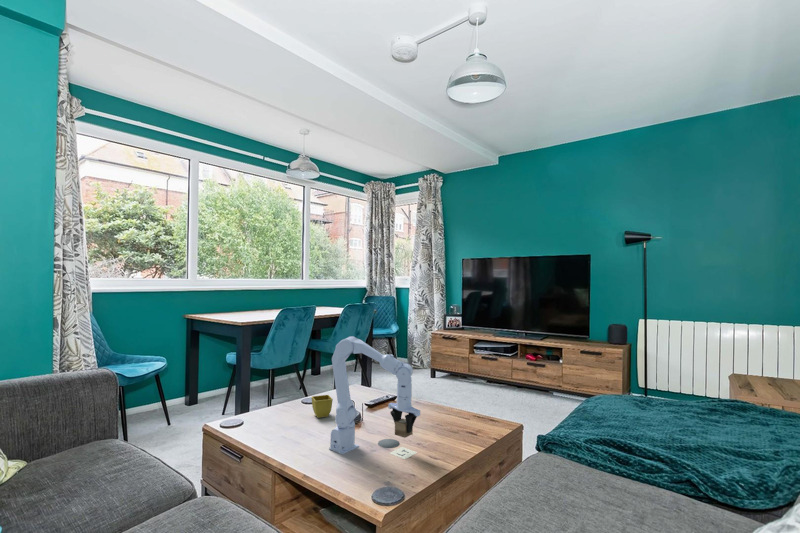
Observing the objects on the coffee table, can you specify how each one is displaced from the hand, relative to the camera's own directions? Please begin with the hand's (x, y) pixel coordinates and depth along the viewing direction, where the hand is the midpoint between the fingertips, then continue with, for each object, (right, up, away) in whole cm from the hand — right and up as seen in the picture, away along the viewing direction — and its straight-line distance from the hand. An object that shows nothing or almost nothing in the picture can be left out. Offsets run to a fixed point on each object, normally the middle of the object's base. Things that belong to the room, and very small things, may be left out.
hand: (403, 430), depth 156 cm
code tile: (0, -9, 0) cm, 9 cm away
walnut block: (0, -2, 0) cm, 2 cm away
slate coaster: (-6, -9, +8) cm, 14 cm away
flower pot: (-40, -10, +41) cm, 58 cm away
